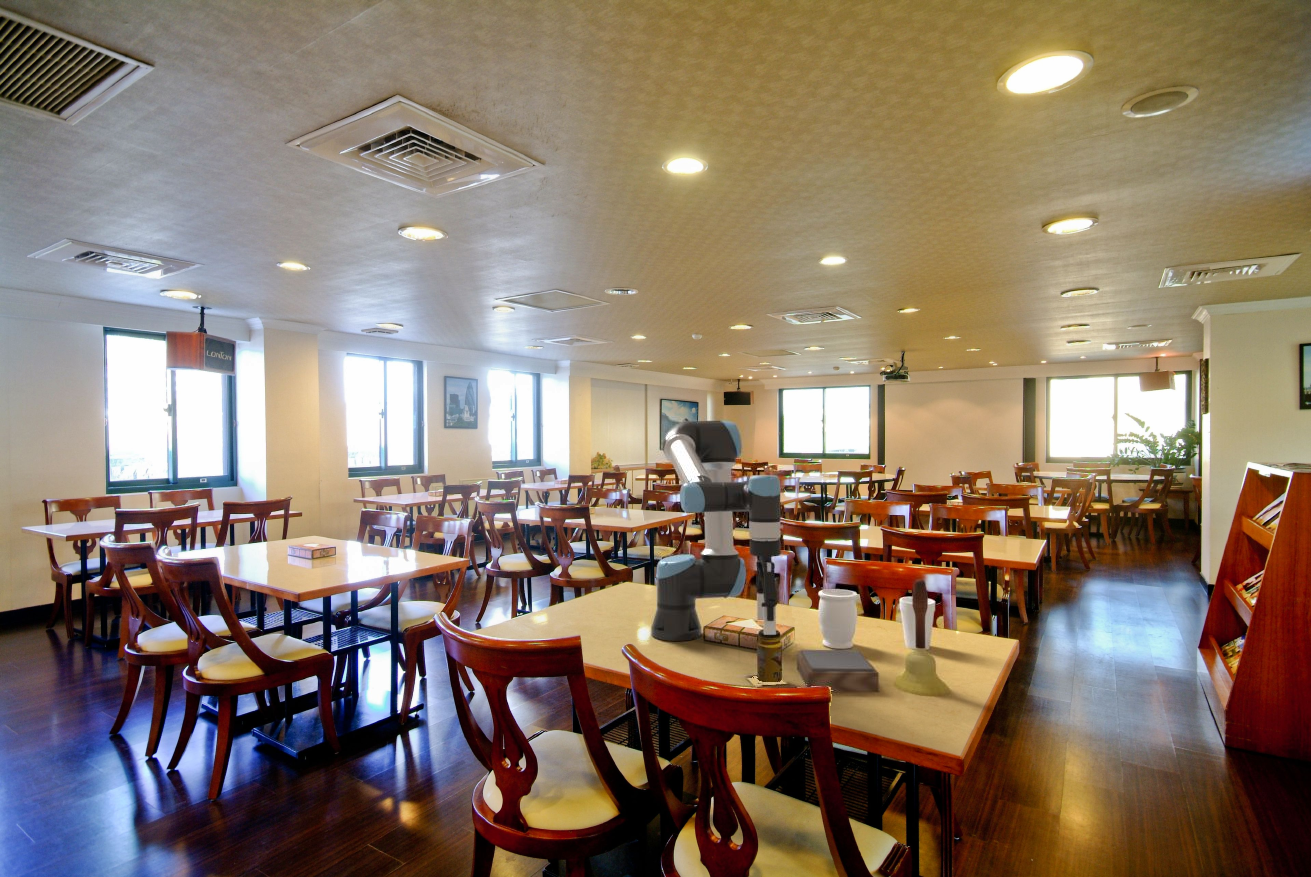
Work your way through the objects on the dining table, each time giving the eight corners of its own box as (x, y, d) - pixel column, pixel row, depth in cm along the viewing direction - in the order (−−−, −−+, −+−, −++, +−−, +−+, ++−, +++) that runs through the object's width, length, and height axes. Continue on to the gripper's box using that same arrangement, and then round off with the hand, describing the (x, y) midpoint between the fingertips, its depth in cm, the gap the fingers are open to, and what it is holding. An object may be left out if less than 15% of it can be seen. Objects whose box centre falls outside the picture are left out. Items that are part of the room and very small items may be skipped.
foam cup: (925, 653, 183) (924, 606, 183) (893, 646, 190) (893, 600, 190) (941, 646, 189) (941, 600, 189) (910, 639, 196) (910, 595, 196)
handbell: (950, 698, 151) (949, 587, 151) (892, 692, 155) (891, 583, 156) (947, 680, 163) (946, 577, 163) (893, 674, 167) (892, 573, 167)
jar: (853, 640, 196) (853, 588, 196) (860, 651, 186) (860, 596, 186) (816, 639, 197) (815, 588, 197) (821, 650, 187) (821, 596, 187)
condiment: (788, 684, 161) (788, 634, 161) (755, 687, 159) (754, 636, 159) (776, 674, 168) (775, 626, 168) (744, 677, 166) (743, 628, 166)
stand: (808, 691, 156) (808, 669, 156) (796, 668, 172) (796, 648, 172) (878, 691, 156) (878, 670, 156) (860, 668, 172) (860, 648, 172)
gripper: (788, 545, 151) (790, 640, 151) (773, 532, 176) (774, 614, 176) (755, 545, 151) (756, 640, 151) (744, 532, 176) (745, 614, 176)
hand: (766, 626), depth 163 cm, fingers open, 13 cm apart
